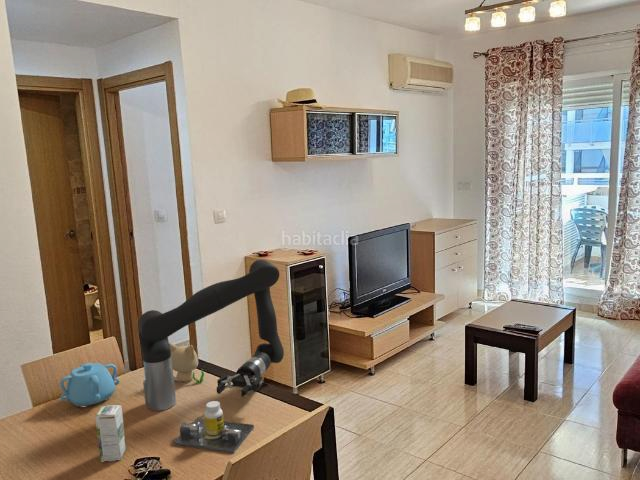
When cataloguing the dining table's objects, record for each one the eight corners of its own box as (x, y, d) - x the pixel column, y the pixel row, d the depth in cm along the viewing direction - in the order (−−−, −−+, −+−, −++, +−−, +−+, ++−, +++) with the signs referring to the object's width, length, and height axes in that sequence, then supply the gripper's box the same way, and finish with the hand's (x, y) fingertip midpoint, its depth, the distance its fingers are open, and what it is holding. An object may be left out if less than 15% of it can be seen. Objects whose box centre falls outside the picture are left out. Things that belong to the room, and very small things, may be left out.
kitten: (210, 376, 199) (207, 339, 196) (197, 387, 189) (193, 349, 187) (177, 372, 203) (173, 337, 201) (162, 384, 194) (158, 346, 191)
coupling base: (173, 444, 153) (171, 430, 152) (197, 420, 166) (196, 407, 165) (233, 453, 147) (232, 438, 146) (254, 427, 160) (253, 414, 159)
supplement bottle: (220, 439, 152) (217, 409, 150) (203, 438, 153) (200, 408, 151) (227, 429, 157) (224, 400, 155) (210, 428, 158) (207, 399, 157)
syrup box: (106, 451, 151) (100, 405, 149) (127, 449, 152) (121, 404, 149) (100, 462, 146) (93, 415, 143) (121, 460, 146) (115, 413, 144)
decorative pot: (97, 412, 175) (92, 375, 172) (57, 409, 178) (51, 372, 176) (125, 390, 190) (121, 356, 188) (87, 387, 194) (83, 353, 192)
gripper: (232, 359, 181) (209, 379, 165) (269, 362, 176) (249, 383, 161) (233, 379, 182) (211, 401, 167) (270, 383, 178) (251, 405, 162)
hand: (229, 392), depth 164 cm, fingers open, 8 cm apart
